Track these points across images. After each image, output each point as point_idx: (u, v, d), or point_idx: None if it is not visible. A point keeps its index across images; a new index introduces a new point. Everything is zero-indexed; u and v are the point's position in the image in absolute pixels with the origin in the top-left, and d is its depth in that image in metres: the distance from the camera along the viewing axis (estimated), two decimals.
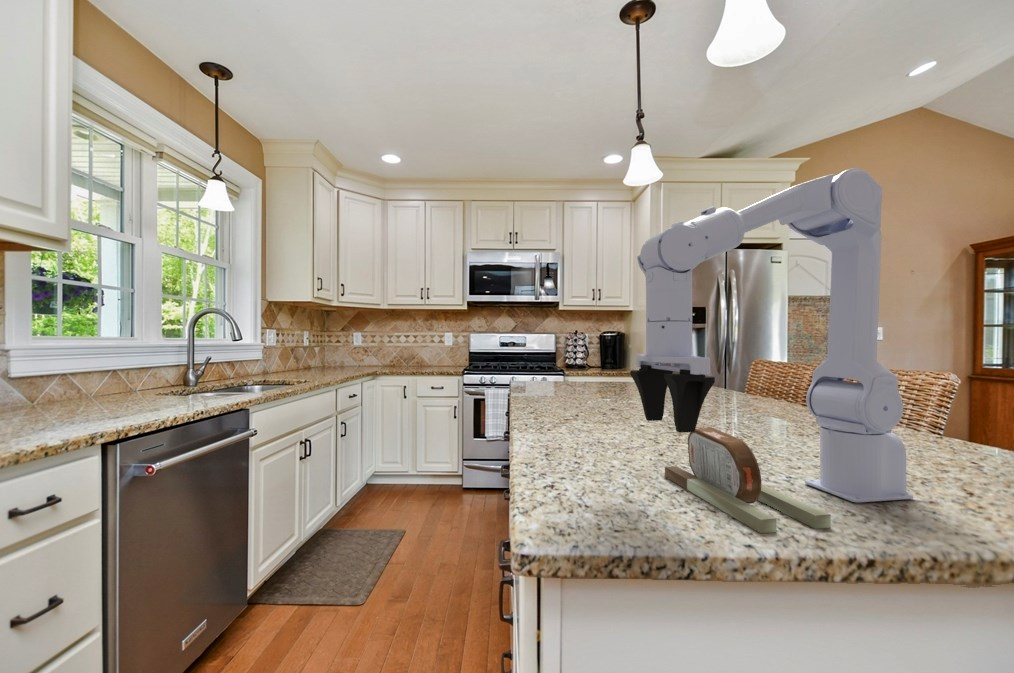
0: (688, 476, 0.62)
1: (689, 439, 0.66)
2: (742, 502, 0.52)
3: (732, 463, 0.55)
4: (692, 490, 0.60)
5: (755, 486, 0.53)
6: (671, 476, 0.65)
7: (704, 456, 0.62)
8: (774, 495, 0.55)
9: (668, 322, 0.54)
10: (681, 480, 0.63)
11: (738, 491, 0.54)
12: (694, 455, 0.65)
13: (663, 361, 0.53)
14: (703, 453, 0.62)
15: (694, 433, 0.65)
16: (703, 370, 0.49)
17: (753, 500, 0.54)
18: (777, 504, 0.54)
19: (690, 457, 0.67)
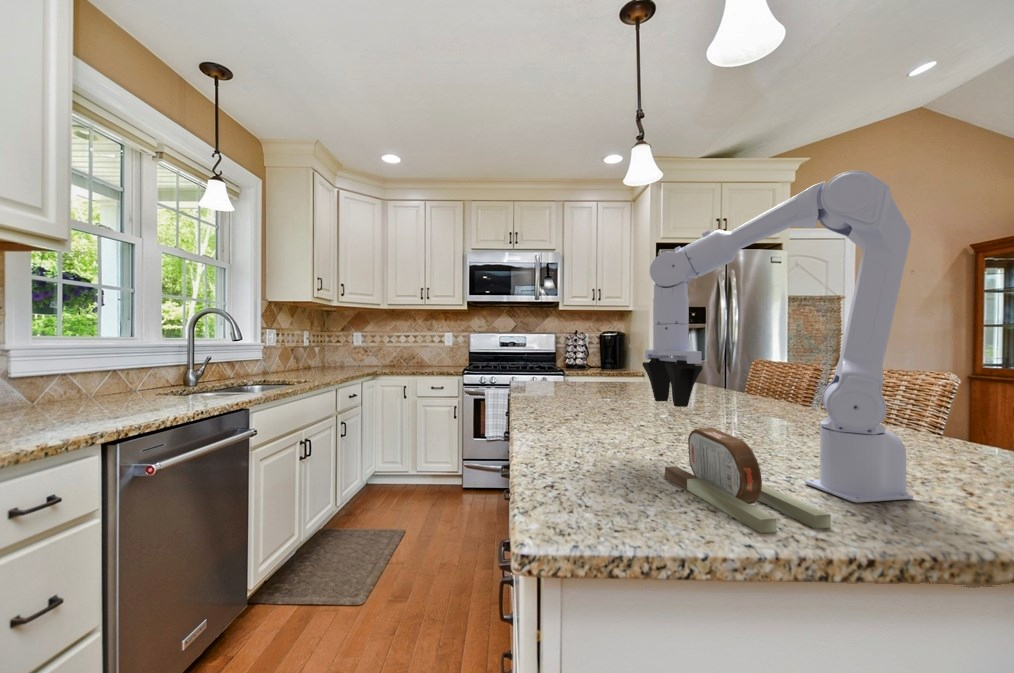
0: (688, 476, 0.62)
1: (689, 439, 0.66)
2: (742, 502, 0.52)
3: (732, 463, 0.55)
4: (692, 490, 0.60)
5: (755, 486, 0.53)
6: (671, 476, 0.65)
7: (705, 456, 0.62)
8: (774, 495, 0.55)
9: (670, 324, 0.71)
10: (681, 480, 0.63)
11: (738, 491, 0.54)
12: (694, 455, 0.65)
13: (666, 354, 0.71)
14: (704, 453, 0.62)
15: (695, 433, 0.65)
16: (696, 360, 0.67)
17: (753, 500, 0.54)
18: (777, 504, 0.54)
19: (690, 457, 0.67)
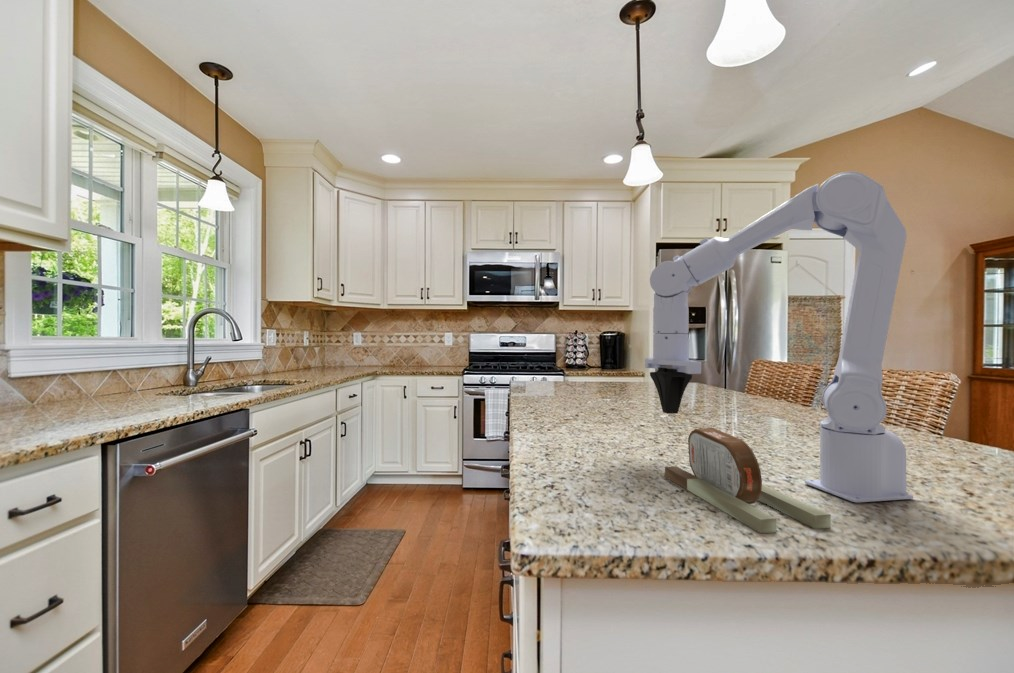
0: (688, 476, 0.62)
1: (690, 439, 0.66)
2: (742, 502, 0.52)
3: (732, 463, 0.55)
4: (692, 490, 0.60)
5: (755, 486, 0.53)
6: (671, 476, 0.65)
7: (705, 456, 0.62)
8: (774, 495, 0.55)
9: (670, 334, 0.71)
10: (681, 480, 0.63)
11: (738, 491, 0.54)
12: (694, 455, 0.65)
13: (666, 364, 0.71)
14: (704, 453, 0.62)
15: (695, 433, 0.65)
16: (696, 370, 0.67)
17: (753, 500, 0.54)
18: (777, 504, 0.54)
19: (690, 457, 0.67)
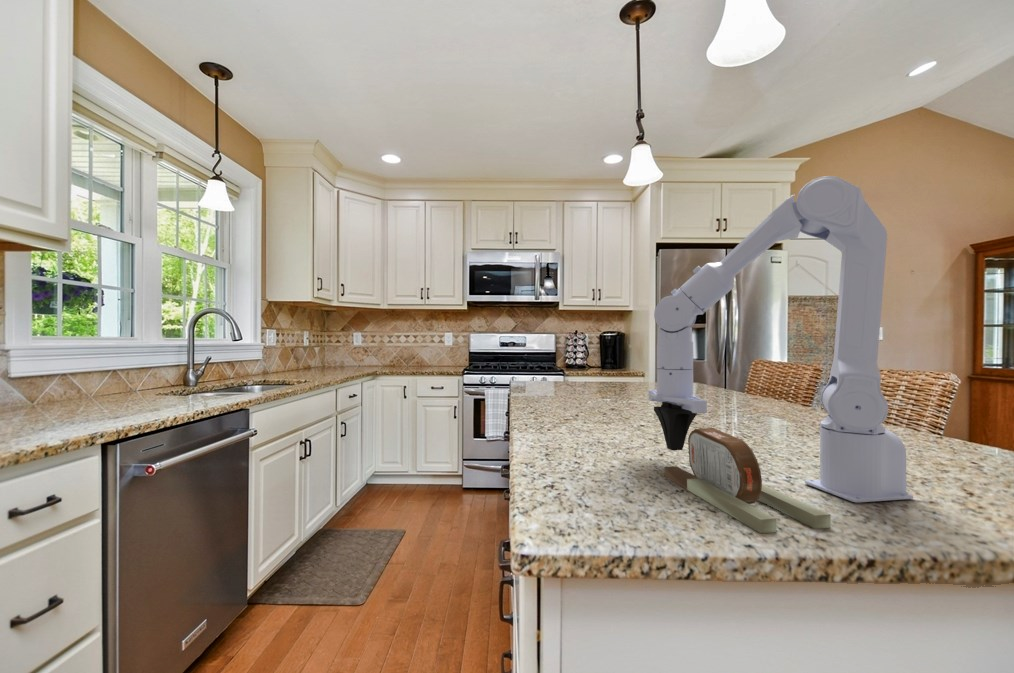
0: (688, 476, 0.62)
1: (690, 439, 0.66)
2: (742, 502, 0.52)
3: (732, 463, 0.55)
4: (692, 490, 0.60)
5: (755, 486, 0.53)
6: (671, 476, 0.65)
7: (705, 456, 0.62)
8: (774, 495, 0.55)
9: (675, 370, 0.70)
10: (681, 480, 0.63)
11: (738, 491, 0.54)
12: (694, 455, 0.65)
13: (671, 401, 0.70)
14: (704, 453, 0.62)
15: (695, 433, 0.65)
16: (701, 409, 0.66)
17: (753, 500, 0.54)
18: (777, 504, 0.54)
19: (690, 457, 0.67)
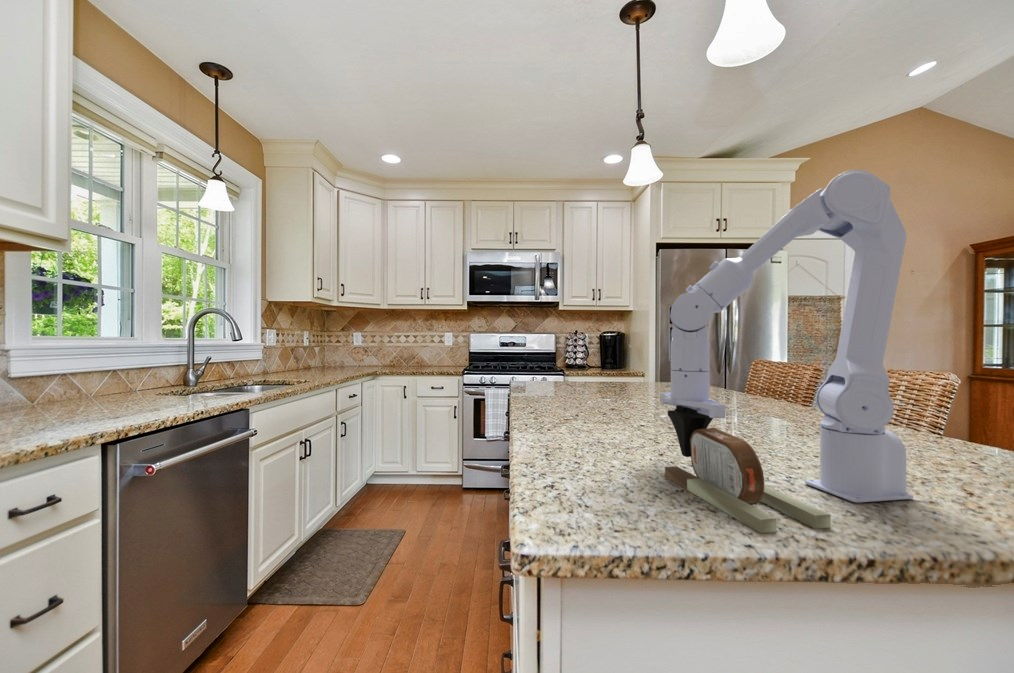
0: (688, 476, 0.62)
1: (691, 439, 0.66)
2: (742, 502, 0.52)
3: (734, 464, 0.54)
4: (692, 490, 0.60)
5: (758, 487, 0.52)
6: (671, 476, 0.65)
7: (707, 457, 0.62)
8: (774, 495, 0.55)
9: (690, 372, 0.66)
10: (681, 480, 0.63)
11: (740, 492, 0.53)
12: (696, 455, 0.65)
13: (686, 404, 0.65)
14: (706, 454, 0.62)
15: (697, 433, 0.64)
16: (719, 414, 0.61)
17: (756, 501, 0.54)
18: (777, 504, 0.54)
19: (692, 457, 0.66)
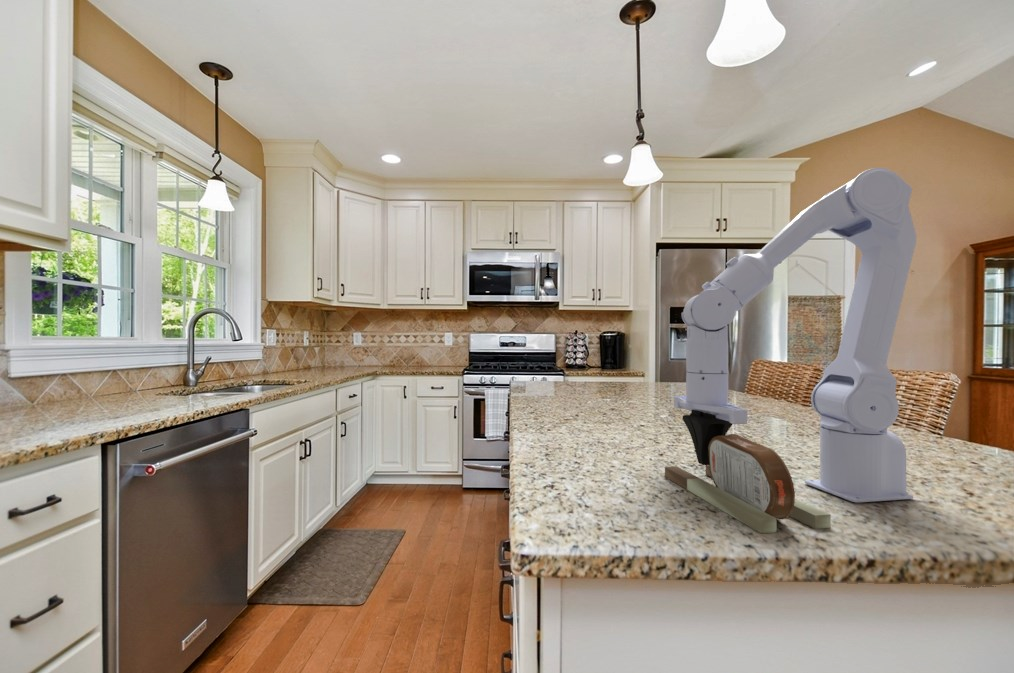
0: (688, 476, 0.62)
1: (710, 447, 0.61)
2: (742, 502, 0.52)
3: (761, 474, 0.50)
4: (692, 490, 0.60)
5: (788, 501, 0.48)
6: (671, 476, 0.65)
7: (728, 465, 0.57)
8: None
9: (708, 374, 0.62)
10: (681, 480, 0.63)
11: (768, 506, 0.49)
12: (716, 464, 0.60)
13: (704, 409, 0.61)
14: (727, 462, 0.57)
15: (716, 440, 0.60)
16: (741, 420, 0.57)
17: (784, 516, 0.49)
18: None
19: (711, 466, 0.62)
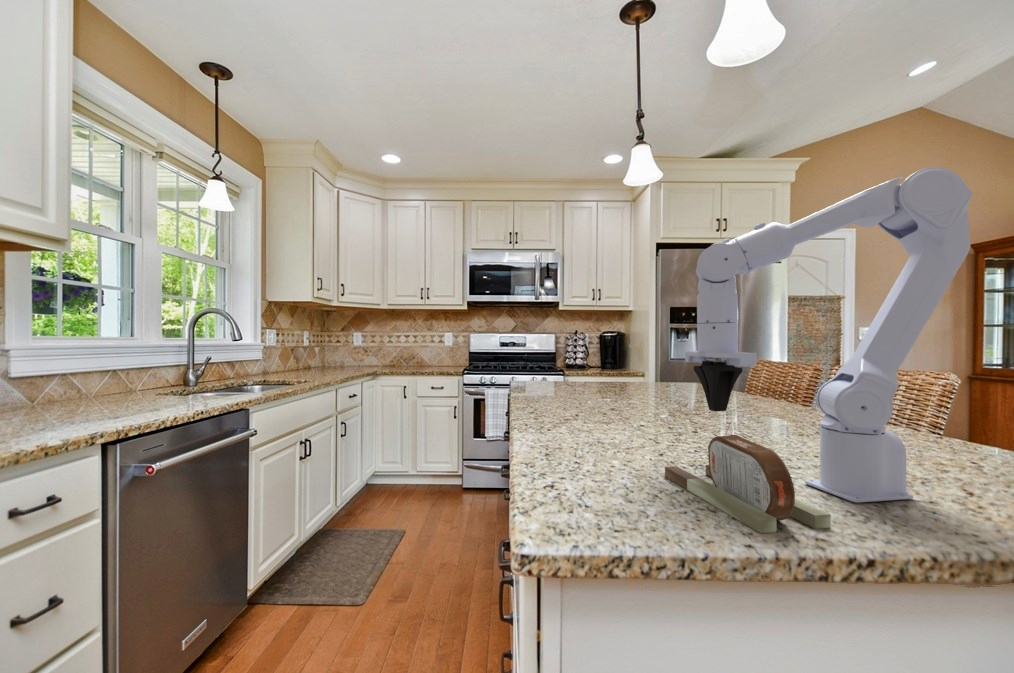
0: (688, 476, 0.62)
1: (710, 447, 0.61)
2: (742, 502, 0.52)
3: (761, 475, 0.50)
4: (692, 490, 0.60)
5: (788, 502, 0.48)
6: (671, 476, 0.65)
7: (728, 466, 0.57)
8: None
9: (719, 323, 0.65)
10: (681, 480, 0.63)
11: (768, 507, 0.49)
12: (715, 465, 0.60)
13: (715, 356, 0.64)
14: (727, 463, 0.57)
15: (716, 441, 0.60)
16: (751, 363, 0.60)
17: (785, 517, 0.49)
18: None
19: (711, 467, 0.62)
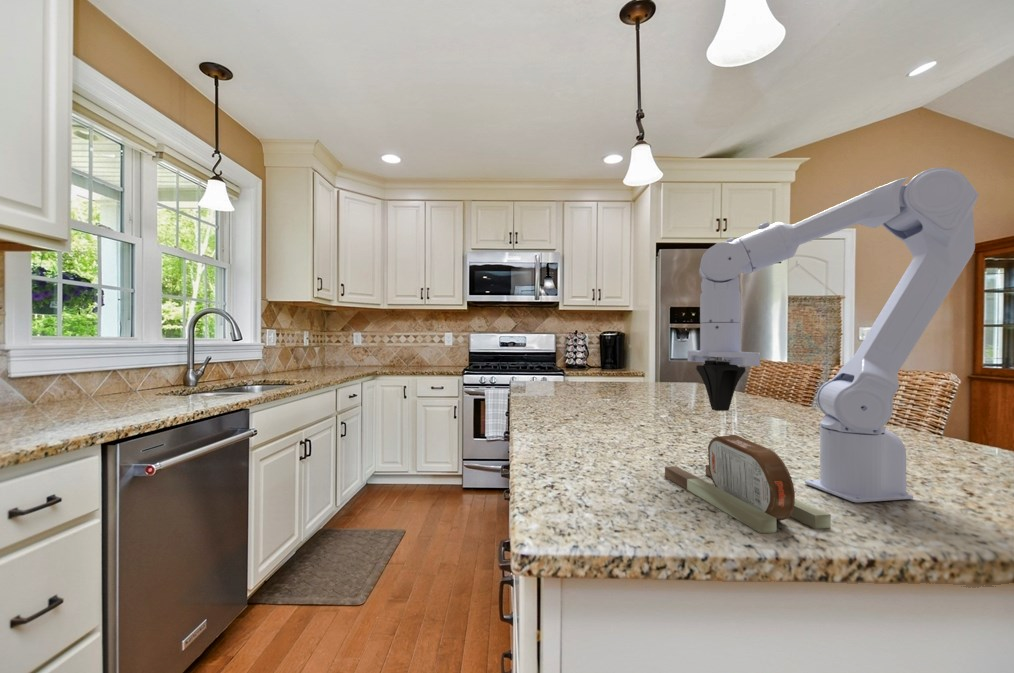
0: (688, 476, 0.62)
1: (710, 447, 0.61)
2: (742, 502, 0.52)
3: (761, 475, 0.50)
4: (692, 490, 0.60)
5: (788, 502, 0.48)
6: (671, 476, 0.65)
7: (728, 466, 0.57)
8: None
9: (722, 323, 0.65)
10: (681, 480, 0.63)
11: (768, 507, 0.49)
12: (715, 465, 0.60)
13: (718, 356, 0.64)
14: (727, 463, 0.57)
15: (716, 441, 0.60)
16: (754, 362, 0.60)
17: (784, 517, 0.49)
18: None
19: (711, 467, 0.62)
